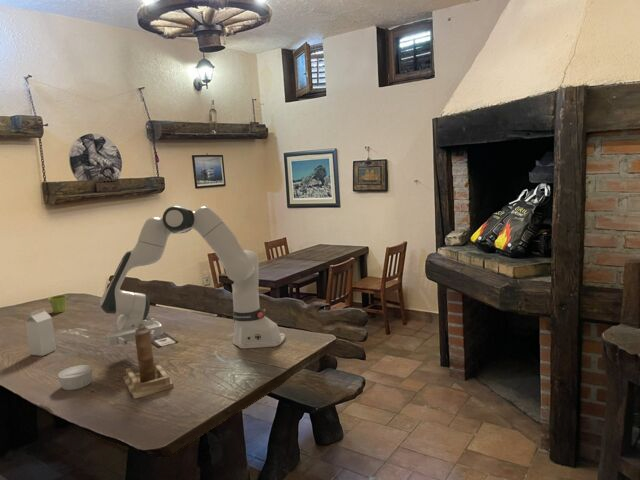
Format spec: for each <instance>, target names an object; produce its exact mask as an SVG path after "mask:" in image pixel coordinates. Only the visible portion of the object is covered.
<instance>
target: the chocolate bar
mask: <svg viewBox="0 0 640 480" xmlns="http://www.w3.org/2000/svg"><path fill="white" fill-rule="evenodd" d="M178 343H179V341H178V340H177V339H176V338H174V337H173V336H171V335H169V334H168V333H166V332H165V331H163V334H162V335H157V336H154V338H151V344H152V345H154V346H155V347H156V348H158V349H159V348H163V347H167V346H170V345H174V344H178Z"/></svg>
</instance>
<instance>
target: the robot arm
mask: <svg viewBox="0 0 640 480" xmlns="http://www.w3.org/2000/svg"><path fill="white" fill-rule="evenodd" d="M192 229H193V230H194V231H196V232H198V234H199V235H200V236H201V237H202V238H203V240H204V241H205V242H206V243H207V244H208V246H209V247H210V248H211V249H212V251H213V252H214V253H215V255H216V256H217V258H218V260H219V262H220V263H221V264H220V265H222V267H223V269H224V270H225V274H226V276H227V278H228V279H229V280H231V281H233V287H232V288H233V289H232V305H233V310H232V318H233V319H232V320H233V323H234V332H233V339H232V343H233V345H235V346H237V347H238V348H239V349H255V348H256V349H257V348H259V349H260V348H270V347H271V348H272V347H273V348H274V347H277V346H279V345H282V343H283V342H284V341H285V339H286V335H285V333H281V332H280V329H279V326H278V324H277V322H274V321H272V320H271V319H270V318H268V317H267V316H265V315H266V314H265V312H266V308H264V309H263V308H261V307H260V295H259V281H260V280H259V279H260V258H259V256H258V254H257V253H256V252H254V251H252V250H249V249H245V250H243V247H242V246H241V244H240V243H239V241H238V239H237V236H236V234H234V232H233V231H232V229H230V227H229V226H228V225H227V224H226V222H225V221H224V220H223V219H222V218H221V216H219V215H218V214H217V213H216V212H215V211H214V210H212V209H211V208H210V207H208V206H200V207H198V208H197V209H195V210H194V211H192V210H191V209H188V208H186V207H184V206H180V205H173V206H169V207H167V208H166V209H165V210H164V211H163V214H162V217H155V216H154V217H149V218H147V219H146V221H145V222H144V224H143V226H142V228H141V229H140V230H141V231H140V234H139V236H138V240H137V242H136V244H135V246H134V247H133V248H132V249H131V250H128V251H126V253H124V255H123V257H122V258H121V260H120V262H119V263H118V265H117V268H116V270H115V271H114V274H113V276H112V278H111V280H110V282H109V284H108V286H107V288H106V289H105V291H104V293H103V294H102V295H101V299H100V303H99V305H100V308H101V310H102V311H103V312H104V313H105V314H110V315H116V314H117V315H119V316H118V317H117V320H116V327H117V330H112V331H109V332H107V334H106V335H104V338H105V340H106V341H107V346H109V347H112V346H116V345H121V344H122V345H124V346H125V345H128V343H130V342H131V343H134V342H136V340H135V334H136V332H135V330H136V329H138V326H139V325H140V324H144V325H145V327H147V328H149V332H150V336H151V338H154V336H157V335H162V334H163V332H164V328H163V324H162V323H160V322H159V321H158V320H155V318H153V317H150V318H149V317H148V316H149V313H150V308H151V307H150V306H151V303H150V300H149V297H148V296H147V295H146V294H145V293H141V292H135V291H127V290H122V289H121V286H122V285H123V283H124V280H125V278H126V276H127V274H128V273H129V272H130V270H132V269H134V268H137V267H143V266H149V265H153V264H155V263H157V262H159V261H160V260H161V259H162V258H163V255H164V252H165V249H166V245H167V241H168V238H169V237H170V235H172V234H186V233H188V232H190V231H191V230H192Z"/></svg>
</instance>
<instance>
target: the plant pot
mask: <svg viewBox="0 0 640 480" xmlns="http://www.w3.org/2000/svg"><path fill="white" fill-rule="evenodd" d="M67 297H68V295H64V294H63V295H62V294H61V295H54V296H50V297H48V299H47V300H48V301H49V303H50V307H51V309H52V312H53V314H59V313H63V312H66V301H67Z"/></svg>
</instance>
